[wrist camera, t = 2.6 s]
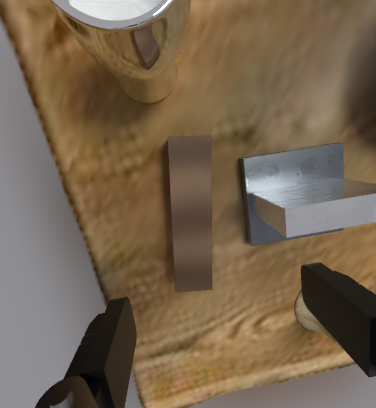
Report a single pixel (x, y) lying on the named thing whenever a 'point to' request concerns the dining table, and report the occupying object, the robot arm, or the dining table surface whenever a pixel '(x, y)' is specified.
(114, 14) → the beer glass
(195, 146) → the walnut plank
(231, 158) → the dining table surface
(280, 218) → the stand
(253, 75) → the dining table surface
